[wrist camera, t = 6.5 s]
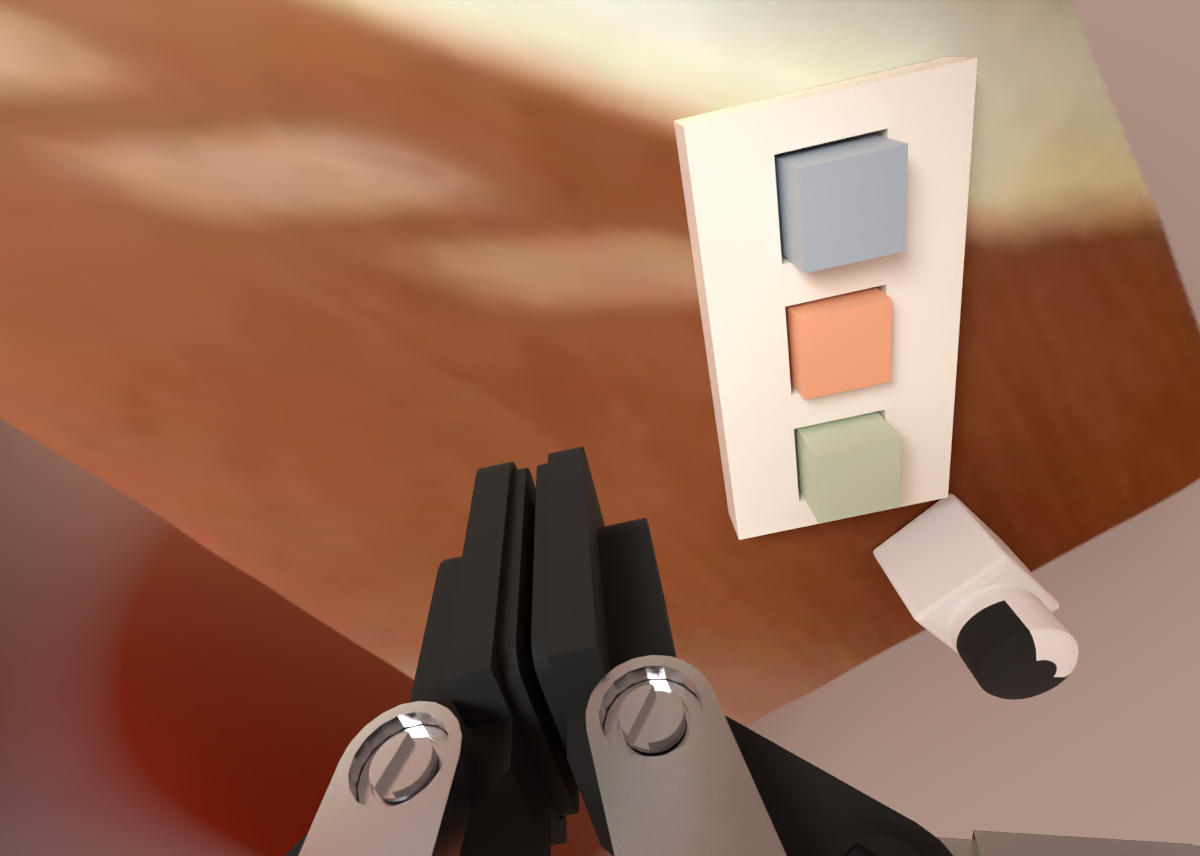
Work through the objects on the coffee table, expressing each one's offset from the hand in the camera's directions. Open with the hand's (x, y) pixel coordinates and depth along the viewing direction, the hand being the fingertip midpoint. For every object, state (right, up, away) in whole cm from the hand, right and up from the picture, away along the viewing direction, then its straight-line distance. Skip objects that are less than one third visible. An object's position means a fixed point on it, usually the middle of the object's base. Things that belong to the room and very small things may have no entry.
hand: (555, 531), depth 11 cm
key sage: (+16, 0, +32) cm, 36 cm away
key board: (+14, +8, +30) cm, 34 cm away
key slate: (+13, +14, +24) cm, 31 cm away
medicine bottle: (+26, -7, +40) cm, 48 cm away
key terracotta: (+14, +8, +30) cm, 34 cm away
